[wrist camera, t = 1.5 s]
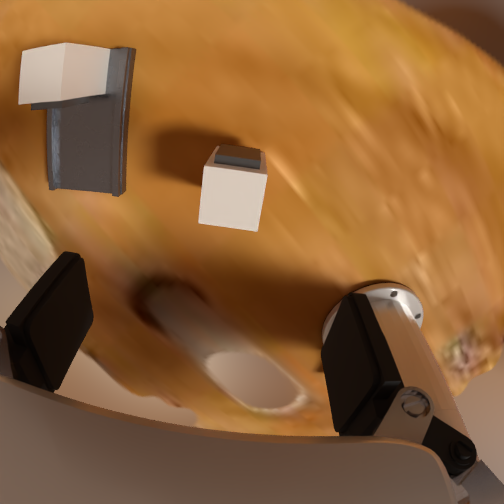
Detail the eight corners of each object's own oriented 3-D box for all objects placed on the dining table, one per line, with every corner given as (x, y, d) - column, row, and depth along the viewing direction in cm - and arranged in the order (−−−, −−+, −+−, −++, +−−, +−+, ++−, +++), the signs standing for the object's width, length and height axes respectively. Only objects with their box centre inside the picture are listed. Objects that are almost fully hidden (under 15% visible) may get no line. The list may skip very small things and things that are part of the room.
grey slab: (125, 190, 27) (119, 196, 26) (56, 184, 27) (48, 189, 25) (136, 49, 21) (129, 47, 19) (59, 55, 20) (50, 55, 19)
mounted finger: (104, 100, 22) (59, 109, 16) (67, 101, 22) (18, 112, 16) (110, 49, 20) (65, 42, 14) (71, 52, 20) (22, 50, 13)
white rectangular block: (257, 196, 27) (257, 231, 21) (211, 190, 27) (198, 223, 21) (266, 145, 25) (269, 165, 19) (218, 138, 25) (205, 156, 19)
